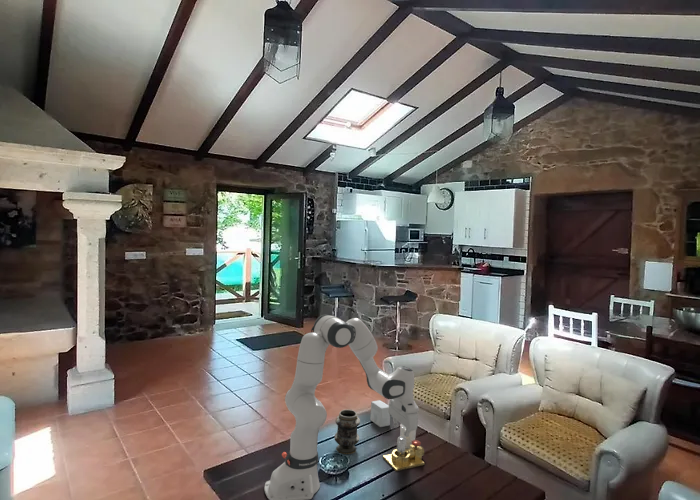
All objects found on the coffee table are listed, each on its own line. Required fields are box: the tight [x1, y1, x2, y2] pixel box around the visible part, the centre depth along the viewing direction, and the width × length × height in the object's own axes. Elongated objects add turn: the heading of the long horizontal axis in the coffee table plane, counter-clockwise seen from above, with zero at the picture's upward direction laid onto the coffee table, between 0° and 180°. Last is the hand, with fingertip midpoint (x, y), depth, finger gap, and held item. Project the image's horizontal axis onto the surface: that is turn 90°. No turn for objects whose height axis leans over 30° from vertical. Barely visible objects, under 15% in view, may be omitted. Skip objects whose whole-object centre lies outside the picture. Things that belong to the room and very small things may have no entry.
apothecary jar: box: [333, 409, 361, 455], centre depth 212 cm, size 12×12×18 cm
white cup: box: [399, 423, 417, 449], centre depth 218 cm, size 8×8×10 cm
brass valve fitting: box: [382, 439, 425, 472], centre depth 204 cm, size 18×12×8 cm
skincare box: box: [369, 399, 391, 428], centre depth 242 cm, size 10×6×10 cm, turn 30°
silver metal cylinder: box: [396, 436, 407, 457], centre depth 202 cm, size 4×4×10 cm
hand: (401, 431), depth 202 cm, fingers open, 8 cm apart
